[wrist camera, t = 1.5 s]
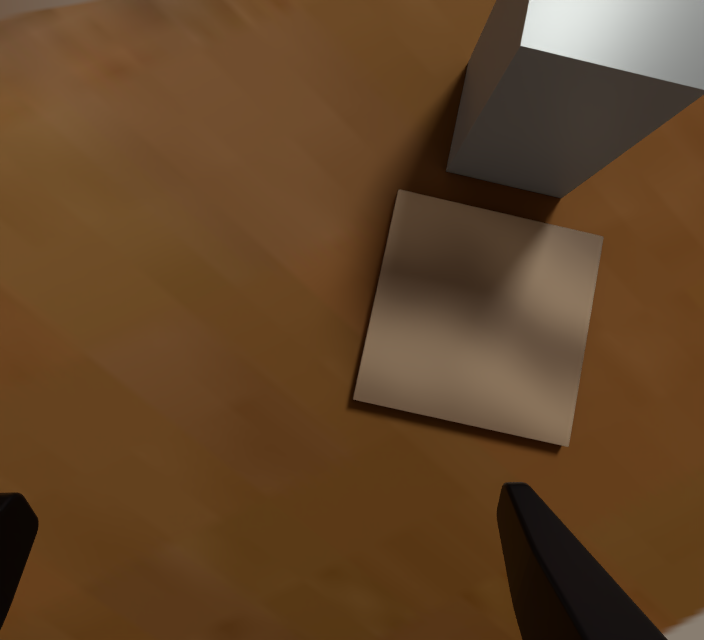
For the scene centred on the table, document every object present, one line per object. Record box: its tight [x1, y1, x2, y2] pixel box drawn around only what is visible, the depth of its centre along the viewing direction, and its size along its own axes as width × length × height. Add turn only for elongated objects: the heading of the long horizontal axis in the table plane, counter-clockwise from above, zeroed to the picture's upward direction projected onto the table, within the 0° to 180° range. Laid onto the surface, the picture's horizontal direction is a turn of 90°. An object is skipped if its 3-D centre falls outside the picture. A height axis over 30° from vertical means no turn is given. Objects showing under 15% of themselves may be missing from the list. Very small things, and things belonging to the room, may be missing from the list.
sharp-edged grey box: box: [446, 0, 704, 198], centre depth 21 cm, size 6×6×10 cm
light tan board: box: [353, 189, 603, 447], centre depth 24 cm, size 11×11×1 cm
